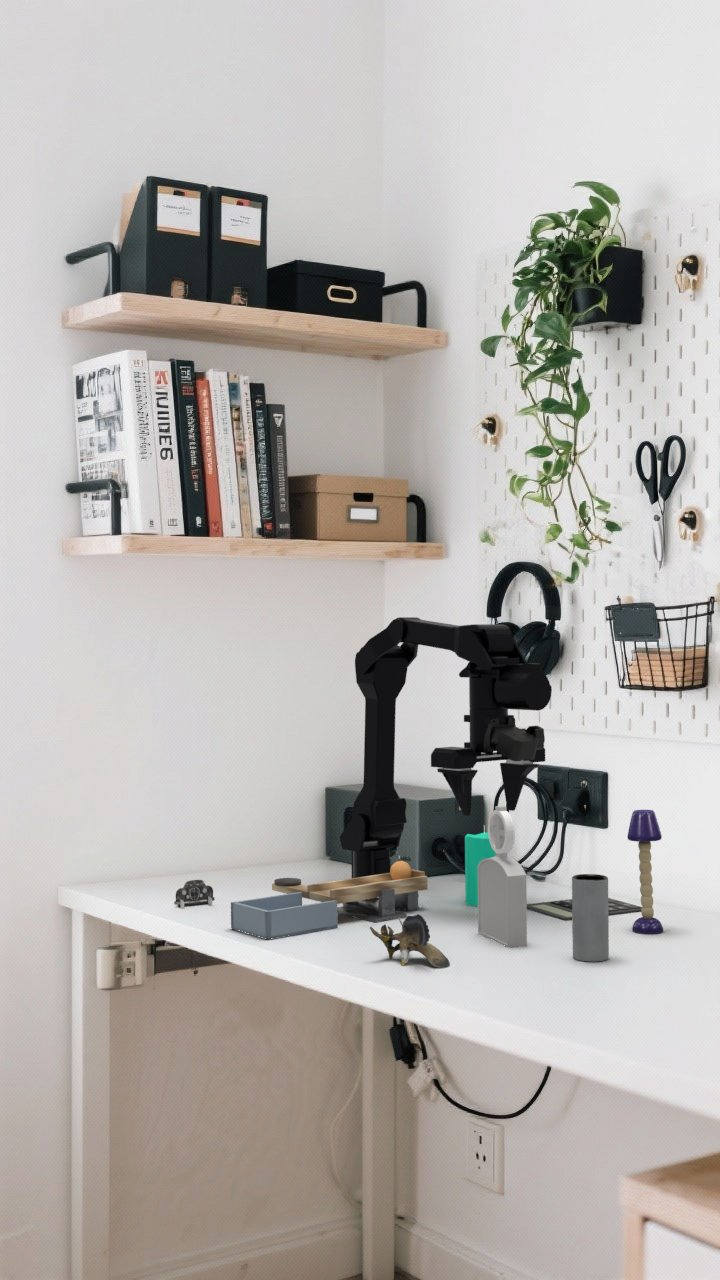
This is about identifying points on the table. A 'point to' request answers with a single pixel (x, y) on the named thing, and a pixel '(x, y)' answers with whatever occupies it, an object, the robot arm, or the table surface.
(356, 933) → the table surface
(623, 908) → the calculator
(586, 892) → the planter
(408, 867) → the ball
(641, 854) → the toy lamp
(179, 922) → the table surface
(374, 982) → the table surface
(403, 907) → the stand
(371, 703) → the robot arm
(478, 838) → the candle
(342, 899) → the lever
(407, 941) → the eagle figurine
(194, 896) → the car cutout
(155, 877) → the table surface
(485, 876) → the gravestone
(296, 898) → the tray
